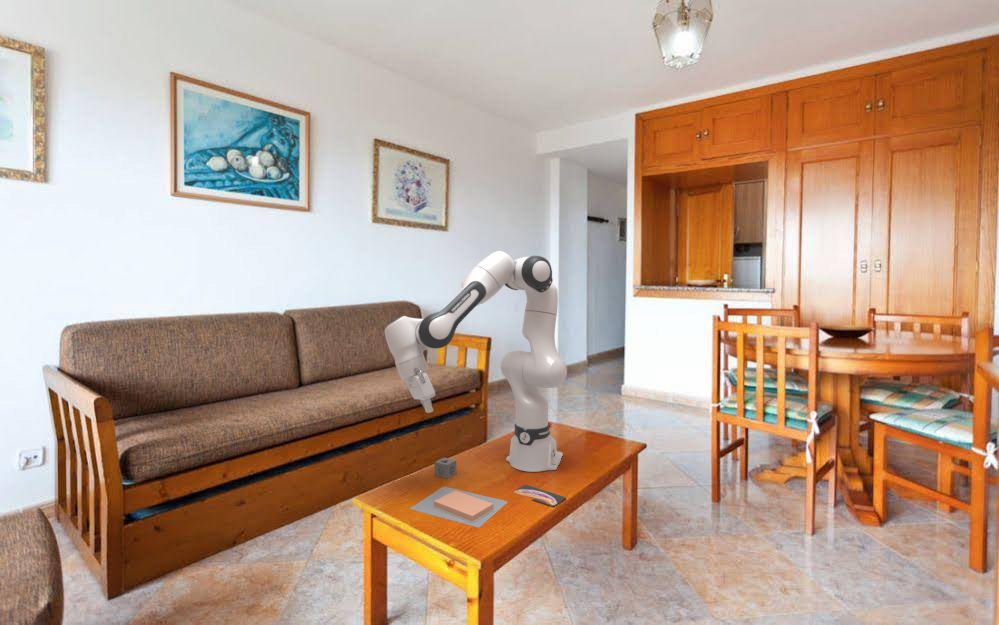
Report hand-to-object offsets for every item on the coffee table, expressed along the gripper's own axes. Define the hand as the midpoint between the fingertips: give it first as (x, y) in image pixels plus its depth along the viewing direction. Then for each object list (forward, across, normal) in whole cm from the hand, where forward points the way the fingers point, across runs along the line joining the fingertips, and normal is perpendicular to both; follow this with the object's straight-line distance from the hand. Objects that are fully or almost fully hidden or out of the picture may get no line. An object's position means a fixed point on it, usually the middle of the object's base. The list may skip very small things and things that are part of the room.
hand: (430, 412), depth 149 cm
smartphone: (+35, -9, -19) cm, 41 cm away
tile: (+24, -6, +6) cm, 25 cm away
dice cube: (+23, +13, +1) cm, 26 cm away
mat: (+27, -9, +3) cm, 28 cm away
